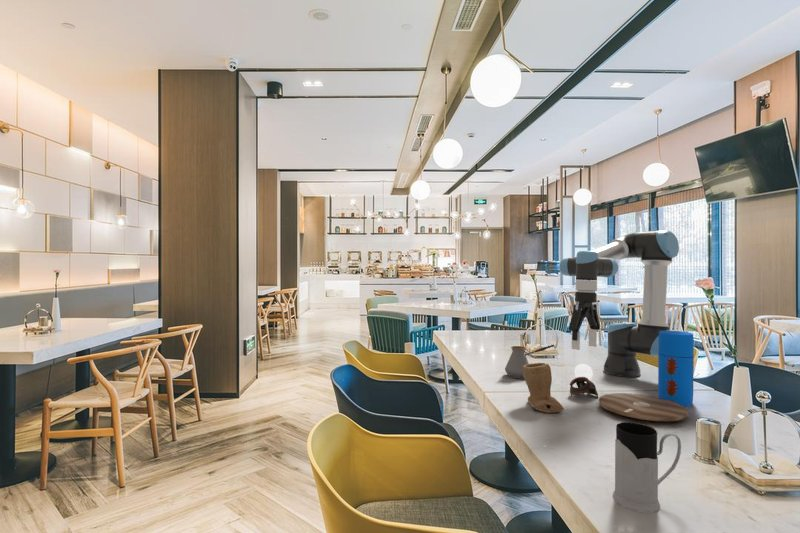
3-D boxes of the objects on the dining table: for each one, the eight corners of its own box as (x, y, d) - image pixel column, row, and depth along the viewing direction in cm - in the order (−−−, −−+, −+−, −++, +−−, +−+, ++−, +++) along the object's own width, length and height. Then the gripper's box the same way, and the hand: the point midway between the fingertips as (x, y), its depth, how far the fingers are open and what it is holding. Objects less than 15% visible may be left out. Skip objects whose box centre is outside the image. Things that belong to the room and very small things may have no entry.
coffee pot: (503, 378, 188) (503, 343, 188) (506, 372, 199) (506, 339, 199) (555, 382, 182) (555, 347, 182) (555, 376, 192) (555, 342, 192)
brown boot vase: (519, 399, 158) (520, 358, 158) (553, 401, 157) (553, 359, 157) (527, 413, 143) (528, 368, 143) (564, 415, 142) (565, 369, 142)
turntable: (619, 391, 164) (619, 388, 164) (699, 409, 144) (699, 406, 144) (584, 405, 147) (584, 402, 147) (670, 427, 127) (670, 424, 127)
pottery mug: (604, 401, 158) (595, 383, 156) (579, 411, 160) (570, 393, 158) (592, 384, 170) (584, 367, 168) (569, 394, 171) (561, 377, 170)
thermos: (654, 401, 157) (655, 332, 157) (661, 395, 165) (662, 329, 165) (690, 408, 150) (690, 336, 149) (695, 401, 157) (696, 332, 157)
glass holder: (604, 490, 94) (604, 421, 94) (665, 487, 96) (665, 419, 95) (629, 513, 85) (629, 437, 85) (695, 510, 87) (696, 435, 87)
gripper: (591, 291, 175) (589, 343, 175) (559, 291, 159) (558, 349, 158) (610, 292, 170) (608, 346, 169) (579, 292, 153) (578, 352, 153)
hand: (584, 347), depth 164 cm, fingers open, 13 cm apart
